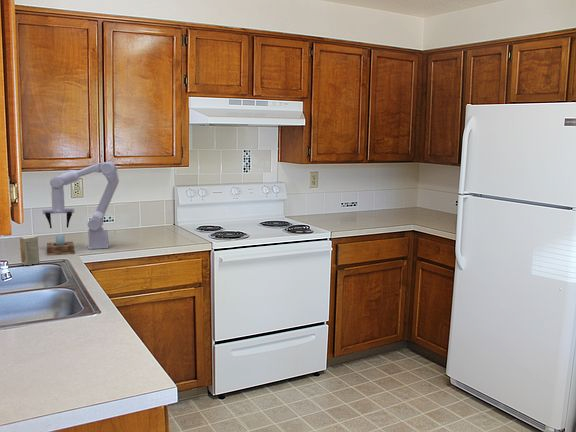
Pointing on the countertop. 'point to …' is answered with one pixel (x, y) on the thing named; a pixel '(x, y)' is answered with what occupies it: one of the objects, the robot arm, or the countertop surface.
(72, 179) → the robot arm
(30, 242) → the skincare box
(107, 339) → the countertop surface
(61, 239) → the peg
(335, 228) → the countertop surface
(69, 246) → the walnut holder
